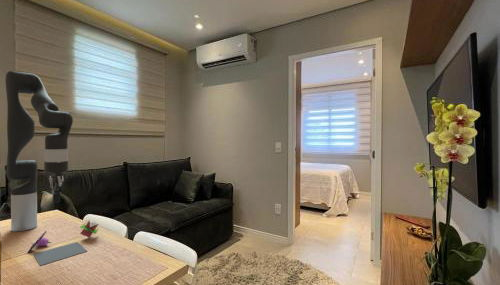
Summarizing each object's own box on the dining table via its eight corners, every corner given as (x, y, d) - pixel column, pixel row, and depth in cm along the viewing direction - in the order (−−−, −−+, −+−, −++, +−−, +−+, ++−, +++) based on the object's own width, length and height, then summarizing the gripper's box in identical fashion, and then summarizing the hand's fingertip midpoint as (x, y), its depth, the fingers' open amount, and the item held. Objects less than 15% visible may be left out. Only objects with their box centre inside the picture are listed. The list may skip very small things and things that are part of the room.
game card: (25, 251, 91) (30, 244, 98) (38, 257, 93) (43, 250, 100) (40, 235, 93) (44, 229, 101) (53, 241, 95) (56, 235, 103)
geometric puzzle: (77, 241, 101) (77, 223, 101) (82, 235, 108) (82, 218, 108) (96, 239, 104) (96, 221, 104) (100, 233, 110) (100, 216, 110)
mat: (33, 254, 90) (33, 253, 90) (77, 242, 101) (77, 241, 101) (40, 265, 82) (40, 265, 82) (87, 251, 93) (87, 250, 93)
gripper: (40, 159, 97) (41, 201, 98) (48, 162, 89) (48, 208, 89) (63, 158, 103) (63, 198, 104) (72, 160, 95) (72, 203, 95)
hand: (56, 202), depth 96 cm, fingers closed
